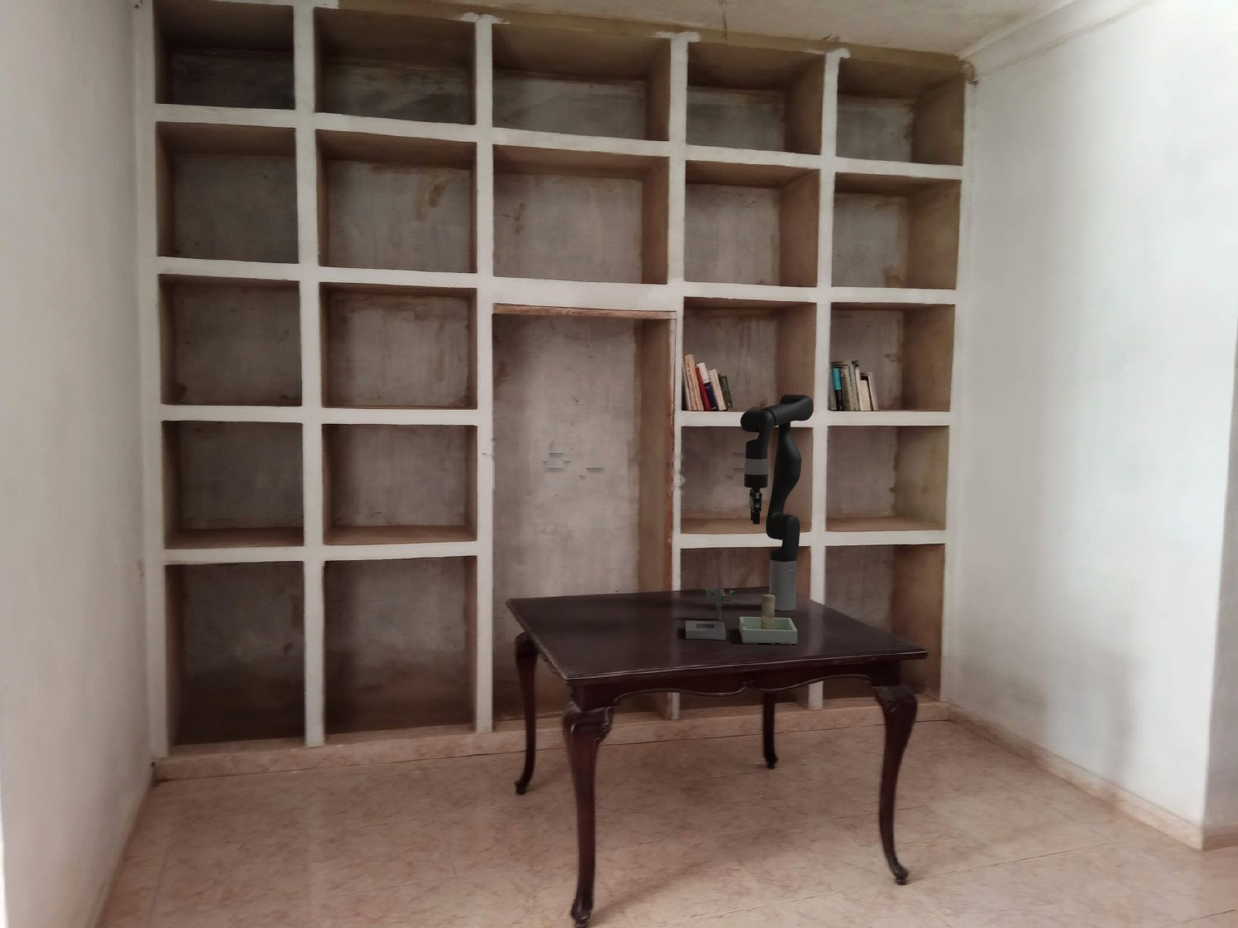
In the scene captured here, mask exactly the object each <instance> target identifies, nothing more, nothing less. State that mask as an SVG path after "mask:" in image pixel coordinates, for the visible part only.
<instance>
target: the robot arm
mask: <svg viewBox="0 0 1238 928" xmlns="http://www.w3.org/2000/svg"><path fill="white" fill-rule="evenodd" d="M813 414H814V401H813V399H812V397H810V396H809V395H805V394H787V393H786V394H783V395H782V396H781V397H780V401H779V404H773V405H770V406H766V407H764V408H757V409H750V410H746V411H744V413H742V415H741V417H740V420H739V421H740V422H739V423H740V426H741V429H742V430H743V431H744V432H747V433H759V434H758V436H757V438H755V439H750V440H748V441H747V442H746V443H745V459H744V460H745V461H744V466H743V467H744V469H743V470H744V471H743V473H744V474H743V475H744V476H743V477H744V481H743V487H745V488H748V489H749V493H748V498H749V500H748V503H749V509H750V521H751V522H752V524H753V525H760V523H761V513H762V506H763V502H762V501H763V500H762V499H763V493H762V492H761V489H766V488H768V479H769V477H768V476H769V464H768V455H769V454H768V449H769V443H770V438H771V435H772V432H773V428H775V427H777V442H776V451H775V457H774V458H775V459H774V467H773V477H772V478H773V480H772V488H771V494H770V500H769V504H768V510H767V513H766V514H767V515H766V520H765V521H766V522H765V533H766V535H767V537H768V538H769V539H773V540H778V541H781V546H780V547H779V548H776V549H775V548H774V549H772V550H771V551H770V552H769V582H768V583H769V586H768V587H769V589H768V593H769V594H768V595H774V596H775V611H779V612H780V611H782V612H788V611H794V610H796V602H797V559H798V553H799V550H800V539H801V538H800V537H801V536H800V535H801V522H800V520H799V517H798V516H796V515H794V514H790V513H789V514H788V513H787V514H786V513H784V510H785V505H786V501H787V498H788V497H789V495H790V494H791V493H792V491H793V489H794V488H795V487H796V486H797V485H798V482H799V480H800V478H801V472H802V462H803V460H802V456H801V455H802V454H801V452H800V450H799V448H798V446H797V444H796V442H795V440H794V438H793V436H792V427H791V425H792V422H804V421H808V420H810V419H811V417H812V416H813Z"/></svg>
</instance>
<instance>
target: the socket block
mask: <svg viewBox="0 0 1238 928" xmlns="http://www.w3.org/2000/svg"><path fill="white" fill-rule="evenodd" d="M726 632H727V631H726V626H725V622H724V621H715V620H714V621H712V620H711V621H710V620H709V621H708V620H707V621H706V620H685V639H688V640H689V639H690V640H714V641H715V640H718V641H719V640H720V641H723V640H724V641H726V637H727V636H726V634H727V633H726Z"/></svg>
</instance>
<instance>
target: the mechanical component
mask: <svg viewBox="0 0 1238 928" xmlns="http://www.w3.org/2000/svg"><path fill="white" fill-rule="evenodd" d="M702 593H703V595H705V599H706V601H709V602H714V603H715V604H714V605H715V608H716V612H715V613H716V615H715V616H716V620H717V619H720V620H721V619H722V607H724V605H723V603H730V602H732V600H733V597H735V594H736V591H735V590H733V589H731V590H729V592H728V593H726V592H725V591H724V589H723V588H711V587H707V588H704V589H703V592H702ZM712 593H713V595H712ZM724 597H725V598H724ZM726 597H727V598H726Z"/></svg>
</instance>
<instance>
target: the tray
mask: <svg viewBox="0 0 1238 928" xmlns="http://www.w3.org/2000/svg"><path fill="white" fill-rule="evenodd" d="M738 624H739V625H738V626H739V627H738V630H739V633H740V638H741V641H742V644H758V643H771V644H770V645H776V644H775V643H780V644H779V645H792V644H797V645H798V629H797V628H796V625H795V624H794V622H793V620H792V619H791V617H774V630H761V616H760V617H758V616H739V623H738ZM785 643H787V644H785ZM788 643H789V644H788Z"/></svg>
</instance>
